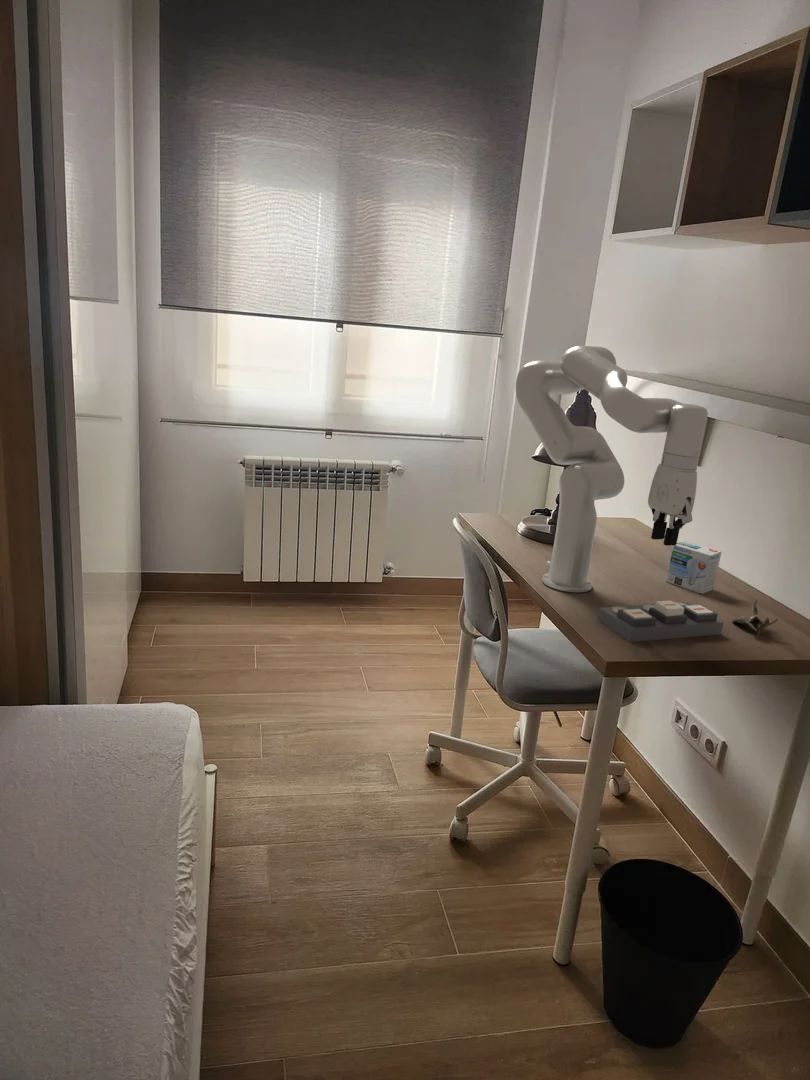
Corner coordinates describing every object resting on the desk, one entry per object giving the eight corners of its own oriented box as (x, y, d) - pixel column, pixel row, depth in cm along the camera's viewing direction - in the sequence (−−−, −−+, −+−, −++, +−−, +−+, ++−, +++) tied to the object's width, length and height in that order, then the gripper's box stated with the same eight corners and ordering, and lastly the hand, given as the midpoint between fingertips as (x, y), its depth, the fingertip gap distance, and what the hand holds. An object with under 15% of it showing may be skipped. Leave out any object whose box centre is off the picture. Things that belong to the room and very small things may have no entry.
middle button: (654, 608, 174) (655, 601, 174) (670, 607, 176) (671, 600, 175) (666, 616, 171) (668, 608, 170) (682, 615, 172) (684, 607, 172)
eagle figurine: (781, 631, 178) (759, 609, 186) (776, 609, 174) (753, 588, 182) (751, 646, 178) (730, 624, 186) (745, 625, 175) (723, 603, 182)
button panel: (597, 619, 177) (600, 601, 176) (685, 613, 186) (689, 595, 185) (629, 642, 167) (633, 622, 165) (720, 634, 176) (725, 615, 174)
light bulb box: (664, 581, 208) (672, 543, 205) (676, 577, 213) (684, 540, 210) (702, 594, 201) (711, 555, 198) (713, 589, 206) (722, 551, 202)
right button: (683, 612, 178) (684, 605, 177) (698, 611, 180) (700, 604, 179) (696, 620, 174) (697, 612, 174) (711, 619, 176) (713, 611, 175)
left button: (621, 616, 172) (622, 609, 171) (637, 615, 173) (639, 608, 173) (633, 624, 168) (635, 617, 167) (650, 623, 169) (651, 616, 169)
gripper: (641, 453, 175) (627, 531, 180) (691, 470, 160) (674, 554, 166) (668, 454, 178) (653, 530, 183) (720, 470, 163) (702, 553, 168)
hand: (663, 541), depth 174 cm, fingers open, 3 cm apart
